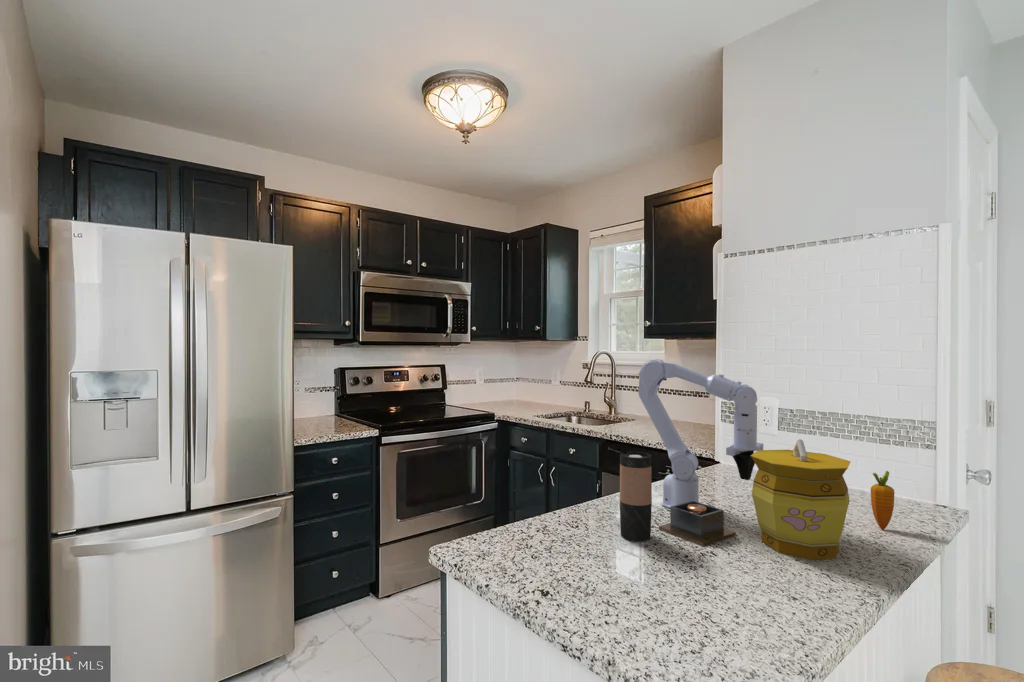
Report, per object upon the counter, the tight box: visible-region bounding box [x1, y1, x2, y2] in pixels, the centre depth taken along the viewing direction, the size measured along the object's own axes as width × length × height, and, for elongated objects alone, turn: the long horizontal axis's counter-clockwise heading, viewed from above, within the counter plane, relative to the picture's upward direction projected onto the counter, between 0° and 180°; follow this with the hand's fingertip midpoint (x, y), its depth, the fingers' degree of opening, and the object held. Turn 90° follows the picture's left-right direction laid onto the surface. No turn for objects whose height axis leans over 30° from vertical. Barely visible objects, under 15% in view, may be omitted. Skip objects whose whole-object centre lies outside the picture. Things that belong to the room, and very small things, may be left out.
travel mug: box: [619, 451, 653, 543], centre depth 123 cm, size 8×8×20 cm
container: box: [751, 438, 851, 561], centre depth 117 cm, size 21×21×25 cm
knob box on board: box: [658, 501, 737, 547], centre depth 125 cm, size 13×13×6 cm
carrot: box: [870, 470, 895, 531], centre depth 128 cm, size 5×5×15 cm
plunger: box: [688, 504, 706, 515], centre depth 125 cm, size 7×7×5 cm
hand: (745, 479), depth 137 cm, fingers closed
